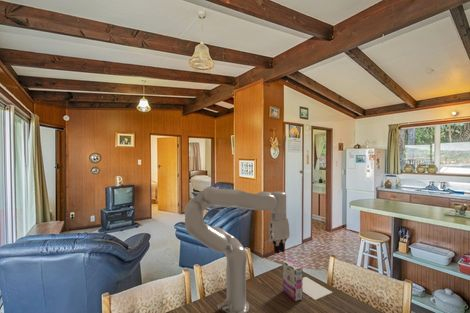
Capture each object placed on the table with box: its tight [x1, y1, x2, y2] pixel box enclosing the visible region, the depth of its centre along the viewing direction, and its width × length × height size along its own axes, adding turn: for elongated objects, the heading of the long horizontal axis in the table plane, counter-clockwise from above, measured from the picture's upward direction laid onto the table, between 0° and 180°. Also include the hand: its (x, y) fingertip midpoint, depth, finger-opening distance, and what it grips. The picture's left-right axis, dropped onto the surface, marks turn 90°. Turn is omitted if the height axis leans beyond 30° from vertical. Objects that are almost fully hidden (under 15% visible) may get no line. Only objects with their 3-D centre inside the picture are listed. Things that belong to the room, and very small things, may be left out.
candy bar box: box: [282, 259, 304, 302], centre depth 132 cm, size 11×5×16 cm, turn 23°
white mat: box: [302, 276, 333, 301], centre depth 139 cm, size 13×19×1 cm
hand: (279, 251), depth 127 cm, fingers open, 2 cm apart
